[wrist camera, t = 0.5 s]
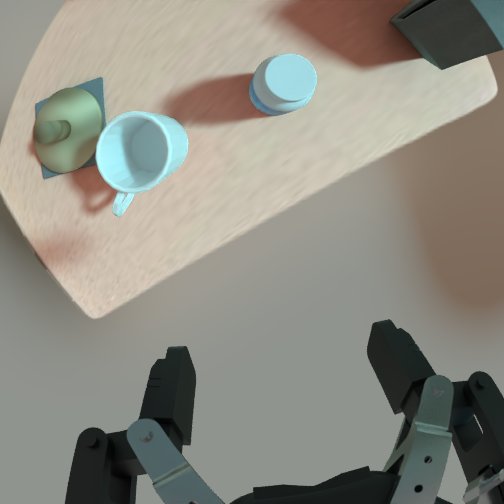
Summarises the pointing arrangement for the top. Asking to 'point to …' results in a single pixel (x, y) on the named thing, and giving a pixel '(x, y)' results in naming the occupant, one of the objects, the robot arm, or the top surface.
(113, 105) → the top surface
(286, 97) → the pill bottle
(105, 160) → the mug
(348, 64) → the top surface
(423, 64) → the top surface
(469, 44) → the planter
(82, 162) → the lid
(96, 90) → the mat
